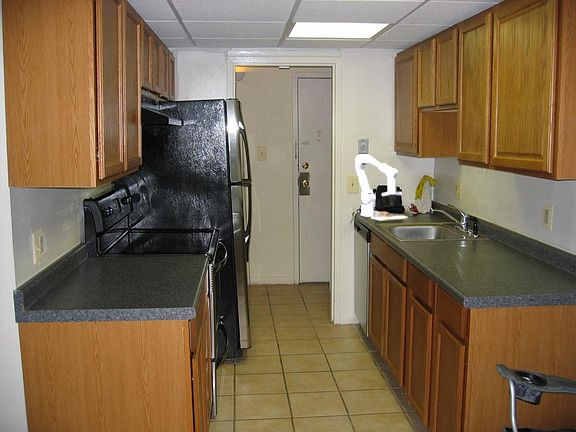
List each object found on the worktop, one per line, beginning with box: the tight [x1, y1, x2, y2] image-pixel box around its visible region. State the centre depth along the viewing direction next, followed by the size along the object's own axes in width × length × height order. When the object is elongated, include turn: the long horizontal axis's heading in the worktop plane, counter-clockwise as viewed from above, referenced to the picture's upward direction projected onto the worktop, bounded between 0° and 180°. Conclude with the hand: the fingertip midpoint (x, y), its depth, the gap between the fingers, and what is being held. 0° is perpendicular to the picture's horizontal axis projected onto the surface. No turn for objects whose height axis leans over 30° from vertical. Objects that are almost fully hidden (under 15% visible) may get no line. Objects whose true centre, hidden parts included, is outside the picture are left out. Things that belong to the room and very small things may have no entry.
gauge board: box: [370, 210, 409, 222], centre depth 437 cm, size 13×22×5 cm, turn 113°
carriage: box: [380, 211, 392, 216], centre depth 436 cm, size 10×3×3 cm, turn 23°
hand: (391, 205), depth 440 cm, fingers closed
